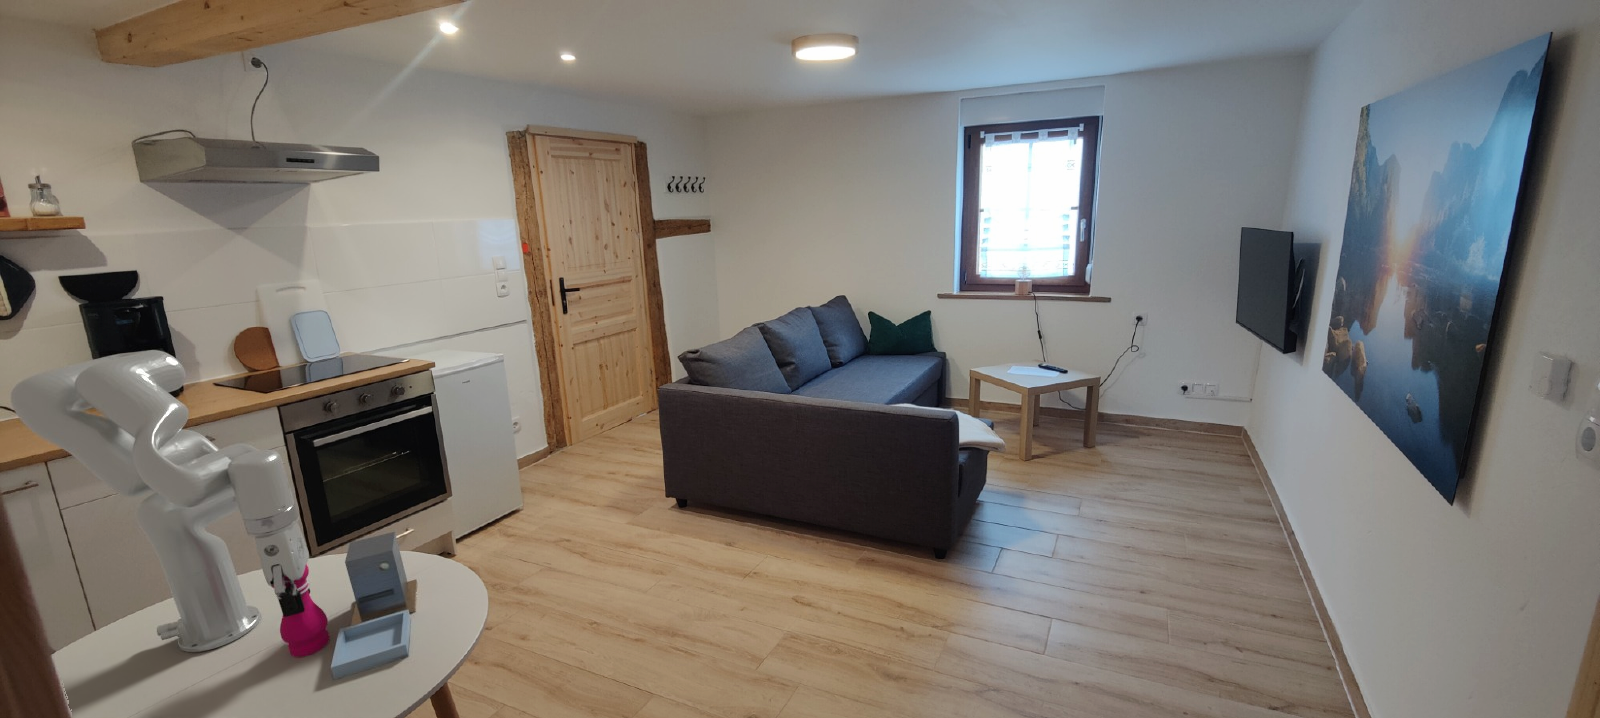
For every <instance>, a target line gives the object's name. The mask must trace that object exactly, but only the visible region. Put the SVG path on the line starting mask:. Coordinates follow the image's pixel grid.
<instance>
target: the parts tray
mask: <svg viewBox="0 0 1600 718" xmlns="http://www.w3.org/2000/svg"><path fill="white" fill-rule="evenodd" d="M411 626H412V618H411V613H409V610H404V611H401V612H397V613H394V614H390V615H387V616H383V617H380V618H377V619H373V620H370V621H366V622H363V623H359V624H356V625H352V626H351V625H349V626H346V627H342V628H339V629H338V634H337V637H336V642H335V647H334V651H333V656H332V659H331V660H332V661H331V665H330V670H331V674H332V676H333V680H339V679H341V678H344V677H347V676H350V675H353V674H357V673H360V672H363V671H366V670H369V669H372V668H375V667H379V666H382V665H384V664H389V663H392V662H394V661H397V660H402V659H403V658H407V657H409V655H410V642H411V628H412V627H411Z"/></svg>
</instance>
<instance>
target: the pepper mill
mask: <svg viewBox="0 0 1600 718" xmlns="http://www.w3.org/2000/svg"><path fill="white" fill-rule="evenodd" d="M309 572H310V570H309V566H308V564H307V565H306V566H305V570H304V573H303V575H302V577H301V578H300V579H299V580H295V582H296V586H297V591H298V592H300V593H301V597H302V600H303V603H304V607H305V611H304V612H302V613H298V614H295V615H291V616H287V617H284V616H283V615H282V618H281V621H280V626H279V633H280V638H281V640H282V641H283V642H285V643H287V644H288V645H287V648H288V651H289V654H290V656H292V657H293V658H302V657H303V658H305V657H308V656H312V655H313V654H315V653H317V652H319V651H321V650H323V649H324V648H325V647H326V646H327V645H328V643H329V642H330V640H331V639H330V638H331V637H330V636H329V635H330V633H329V631H328V629H327V628H326V627H327V625H328V623H329V620H328V617H327V614H326V612H324V609H322V608H321V607H320V606H319V605H318V604H316V603H315V602H314V600H313V599H312V598H311V595H310V594H309V592H308V589H309V588H310V587H311V585H310V583H309V581H310V580H309V579H308V578H307V577H309ZM288 579H289V578H288V577H284V580H288ZM285 586H286V587H290V588H291V584H290V583H287V584H285ZM270 587H271V588H273V589H274V586H270Z"/></svg>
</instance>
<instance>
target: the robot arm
mask: <svg viewBox="0 0 1600 718" xmlns="http://www.w3.org/2000/svg"><path fill="white" fill-rule="evenodd" d="M186 374H187V373H186V370H185V368H184V366H183V365H182V363H180V361H179V360H178V359H177V358H176V357H175V356H173V355H171V354H169V353H168V352H165V351H163V350H158V349H151V350H150V349H149V350H141V351H134V352H133V351H132V352H125V353H124V352H123V353H117V354H112V355H107V356H102V357H100V358H96V359H95V358H94V359H91V360H87V361H83V362H78V363H73V364H70V365H66V366H65V365H64V366H61V367H57V368H53V369H49V370H45V371H43V372H42V371H41V372H40V373H36V374H33V375H31V376H29V377H27V378H24V379H22V380H21V381H20V382H18V383H17V384H15V386H14V387H13V388H12V390H11V393H10V403H11V406H12V408H13V410H14V412H15V413H16V415H17V417H18V418H19V420H20V421H22V423H23V424H24V425H25V426H26V428H28V429H30V431H32V433H34V434H36V435H37V436H39V438H42V439H44V440H45V441H47V442H49V443H51V444H53V445H54V446H56V447H59V448H60V449H63V450H64V451H66V452H67V453H69V454H70V455H72V456H73V457H74V458H75V459H77V460H78V462H80V463H81V464H82V465H83V466H84V467H85V468H87V470H89V471H90V472H91V473H92V474H93V475H94V476H95V477H96V478H98V479H99V480H100V481H102V483H103V484H104V485H106V486H107V487H108V488H109V489H111V490H112V491H113V492H115V494H118V495H120V497H123V498H127V499H128V498H131V499H134V498H139V497H140V498H141V497H143V496H145V495H148V494H151V493H152V494H151V495H149V496H147V497H146V498H144V499H143V500H142V501H141V502H140V503H139V504H138V505H137V508H136V509H135V514H134V517H135V521H136V523H137V526H138V528H139V529H140V530H141V532H142V533H143V534H144V536H145V538H146V539H147V541H148V542H149V543H150V545H151V547H152V549H153V551H154V552H155V555H156V556H157V558H158V561H159V563H160V566H161V569H162V572H163V573H164V576H165V579H166V582H167V584H168V587H169V589H170V592H171V595H172V598H173V601H174V603H175V606H176V608H177V611H178V614H179V617H180V618H179V619H178V620H177V621H174V622H169V623H165V624H161V625H158V626H157V627H156V634H157V636H159V637H160V639H161V640H162V641H164V640H169V639H172V638H174V637H178V640H177V643H178V646H179V650H182V651H183V652H186V653H198V652H199V653H200V652H205V651H210V650H213V649H216V648H219V647H223V646H225V645H228V644H230V643H232V642H234V641H235V640H238V639H240V638H242V636H245V635H246V634H247V633H249V632H250V631H252V630H253V629H254V628H255V627H256V626H257V625H258V623H259V621H260V620H261V616H262V615H261V611H260V609H259V608H257V607H255V606H252V605H247V602H246V599H245V595H244V593H243V589H242V588H241V587H242V586H241V584H240V580H239V578H238V576H237V572H236V569H235V566H234V563H233V560H232V557H231V554H230V551H229V548H228V546H227V543H226V542H225V540H223V539H222V538H221V537H220V536H218V535H215V534H213V533H210V532H208V531H207V530H206V528H207V527H208V526H210V525H212V524H214V523H215V522H217V521H219V520H220V519H223V518H225V517H227V516H230V515H231V514H233V513H235V512H238V511H239V512H240V515H241V518H242V522H243V525H244V527H245V530H246V534H247V535H248V536H249V537H253V538H255V539H254V540H255V544H256V545H255V546H256V550H257V552H258V553H257V554H258V558H259V562H260V566H261V569H262V572H263V576H264V578H265V580H266V583H267V585H268V586H270V587H271V586H274V588H273V590H274V594H275V595H276V598H277V601H278V603H279V606H280V609H281V613H282V616H284V617H287V616H291V615H295V614H298V613H302V612H304V611H305V607H304V603H303V600H302V597H301V593H300V592H298V591H297V586H296V582H295V580H299V579H300V578H301V577H302V575H303V573H304V570H305V566H306V565H307V566H308V561H309V558H310V553H309V550H308V549H309V548H308V546H307V544H306V541H305V538H304V535H303V533H302V532H303V531H302V529H301V527H300V525H299V520H300V516H299V513H298V509H297V506H296V503H295V499H294V495H293V492H292V489H291V485H290V482H289V478H288V475H287V470H286V468H285V465H284V461H283V459H282V455H280V453H279V452H278V451H276V450H273V449H259V448H256V447H255V446H253V445H250V444H247V443H234V444H231V445H228V446H225V447H223V448H221V449H220V448H219V447H217V445H215V444H214V443H213V442H212V441H210V439H208V438H207V437H206V436H204V435H203V434H201V433H199V432H196V431H195V430H190V429H183V428H184V427H185V425H186V423H187V421H188V419H189V416H190V411H189V409H188V406H187V405H185V404H184V403H183V402H181V401H180V400H178V399H177V398H176V397H174V395H172V394H171V392H174V391H177V390H179V389H180V388H181V387H183V386H184V384H185V382H186V379H187V378H186V377H187V375H186ZM92 408H94V409H96V411H98V412H99V413H101V414H102V415H103V416H102V415H97V414H94V413H93V414H92V413H87V412H85V410H86V411H87V410H88V409H92ZM284 577H288V578H289V579H288V580H284ZM287 583H290V584H291V588H290V587H286V586H285V584H287ZM308 592H309V595H310V594H311V589H310V587H309V589H308Z"/></svg>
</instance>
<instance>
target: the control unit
mask: <svg viewBox="0 0 1600 718" xmlns="http://www.w3.org/2000/svg"><path fill="white" fill-rule="evenodd" d="M345 556H346V557H345V560H344V563H345V567H346V571H347V574H348V579H349V582H350V585H351V588H352V592H353V596H354V600H355V604H354V608H353V609H354V610H353V614H352V619H351V623H350V626H352V625H356V624H359V623H363V622H366V621H370V620H373V619H377V618H380V617H383V616H387V615H390V614H394V613H397V612H401V611H404V610H409V614H412V613H415V612H416V611H417V597H416V595H417V594H418V593H417V594H416V592H418V580H417V579H412V580H408V579H407V575H406V571H405V567H404V562H403V559H402V555H401V550H400V547H399V544H398V539H397V534H396V531H391V532H388V533H385V534H384V533H383V534H379V535H375V536H372V537H371V536H370V537H368V538H363V539H359V540H356V541H350V542H349V544H348V549H347V553H346V555H345ZM417 596H418V595H417Z"/></svg>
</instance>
